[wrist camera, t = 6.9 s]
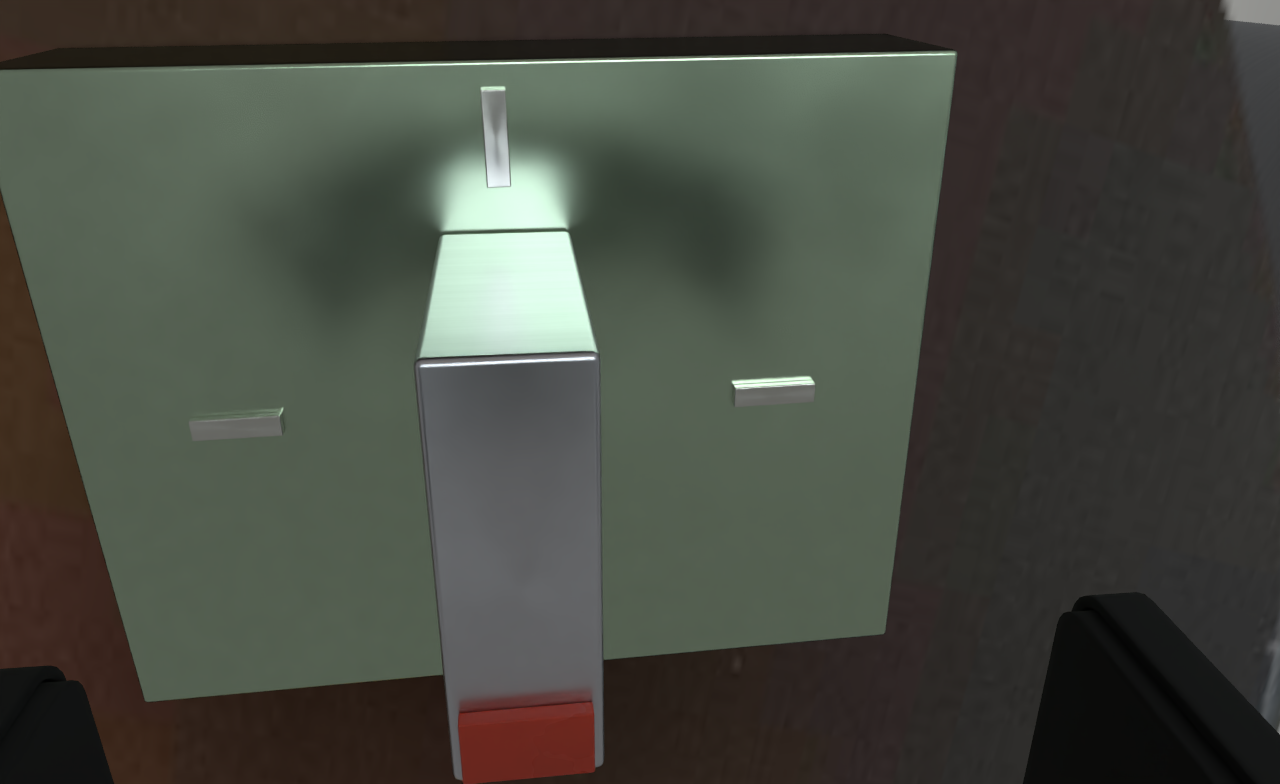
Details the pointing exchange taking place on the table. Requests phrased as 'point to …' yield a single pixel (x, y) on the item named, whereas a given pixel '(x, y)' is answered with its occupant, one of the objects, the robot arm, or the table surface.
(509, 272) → the grey rectangular block
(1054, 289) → the table surface
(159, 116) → the lever panel
